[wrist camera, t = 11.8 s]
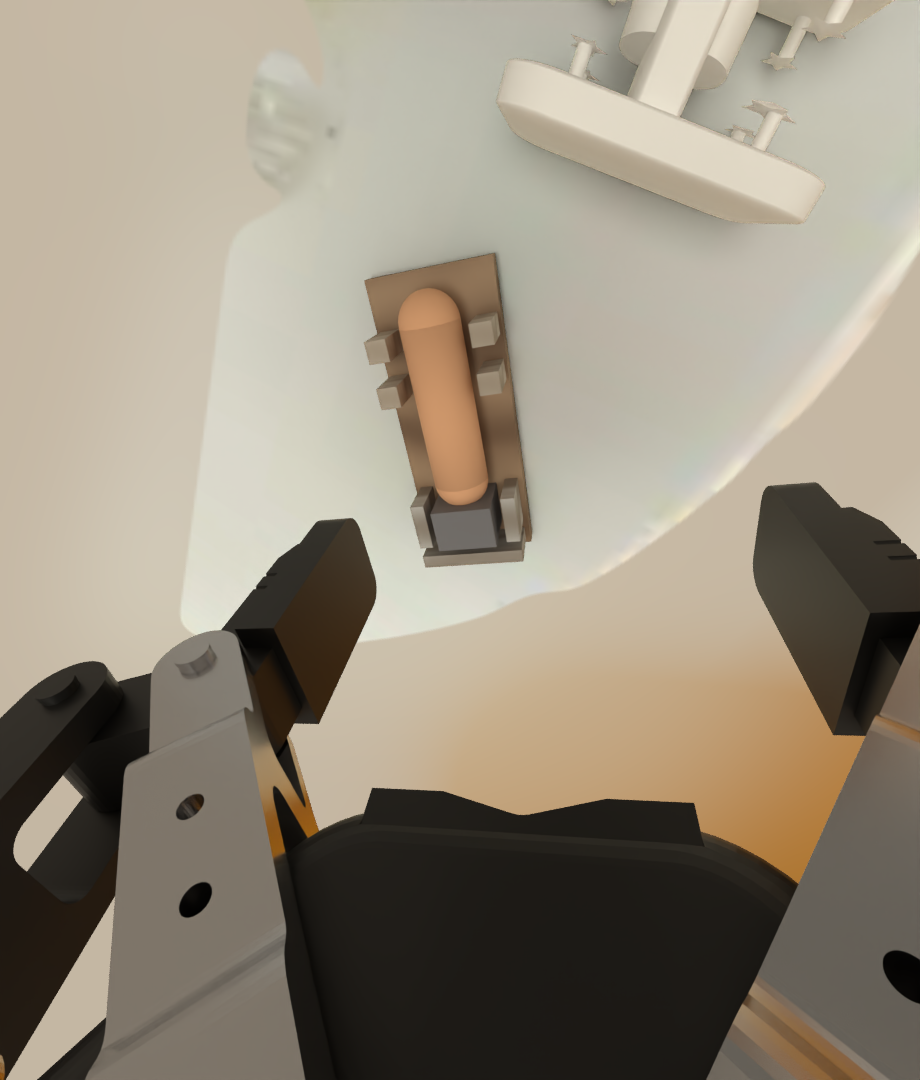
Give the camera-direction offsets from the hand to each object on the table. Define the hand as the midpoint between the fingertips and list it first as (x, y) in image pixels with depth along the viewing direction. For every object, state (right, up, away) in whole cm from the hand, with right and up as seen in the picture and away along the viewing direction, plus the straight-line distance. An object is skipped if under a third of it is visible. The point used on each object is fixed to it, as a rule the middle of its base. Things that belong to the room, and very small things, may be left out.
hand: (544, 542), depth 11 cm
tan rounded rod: (-2, +9, +28) cm, 29 cm away
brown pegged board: (-2, +9, +29) cm, 30 cm away
